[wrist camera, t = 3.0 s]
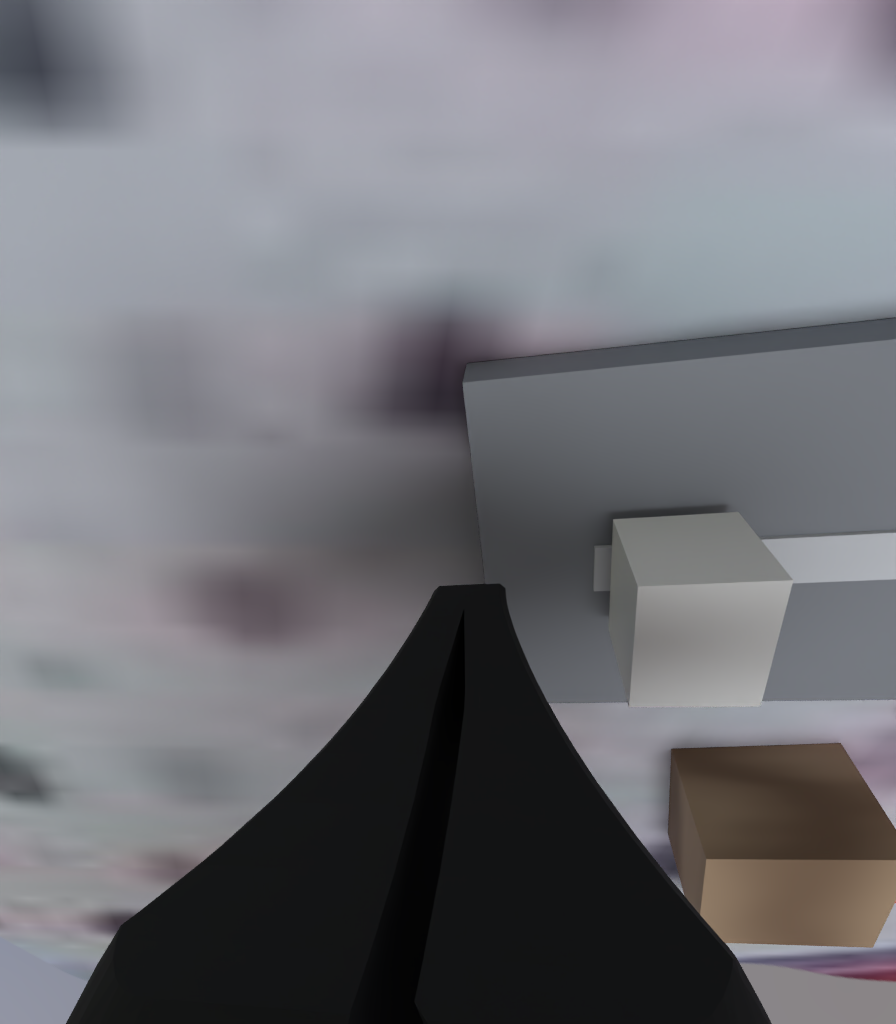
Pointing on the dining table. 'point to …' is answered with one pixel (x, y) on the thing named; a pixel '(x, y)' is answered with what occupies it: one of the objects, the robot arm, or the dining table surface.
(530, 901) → the robot arm
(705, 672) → the switch
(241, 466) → the dining table surface
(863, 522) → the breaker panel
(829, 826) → the block
